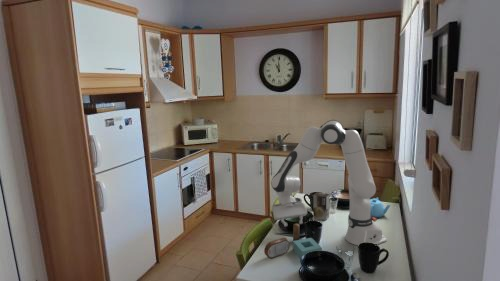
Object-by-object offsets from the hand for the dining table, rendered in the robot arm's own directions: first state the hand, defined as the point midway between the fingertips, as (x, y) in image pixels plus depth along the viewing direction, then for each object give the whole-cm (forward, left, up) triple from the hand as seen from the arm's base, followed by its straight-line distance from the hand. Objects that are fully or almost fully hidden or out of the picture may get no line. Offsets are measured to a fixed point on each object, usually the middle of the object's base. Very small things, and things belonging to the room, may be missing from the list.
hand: (293, 225), depth 180 cm
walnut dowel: (0, +3, -8) cm, 9 cm away
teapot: (-65, -13, -9) cm, 67 cm away
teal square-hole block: (0, +16, -8) cm, 18 cm away
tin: (+15, +13, -9) cm, 22 cm away
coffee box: (-29, -20, -9) cm, 36 cm away
